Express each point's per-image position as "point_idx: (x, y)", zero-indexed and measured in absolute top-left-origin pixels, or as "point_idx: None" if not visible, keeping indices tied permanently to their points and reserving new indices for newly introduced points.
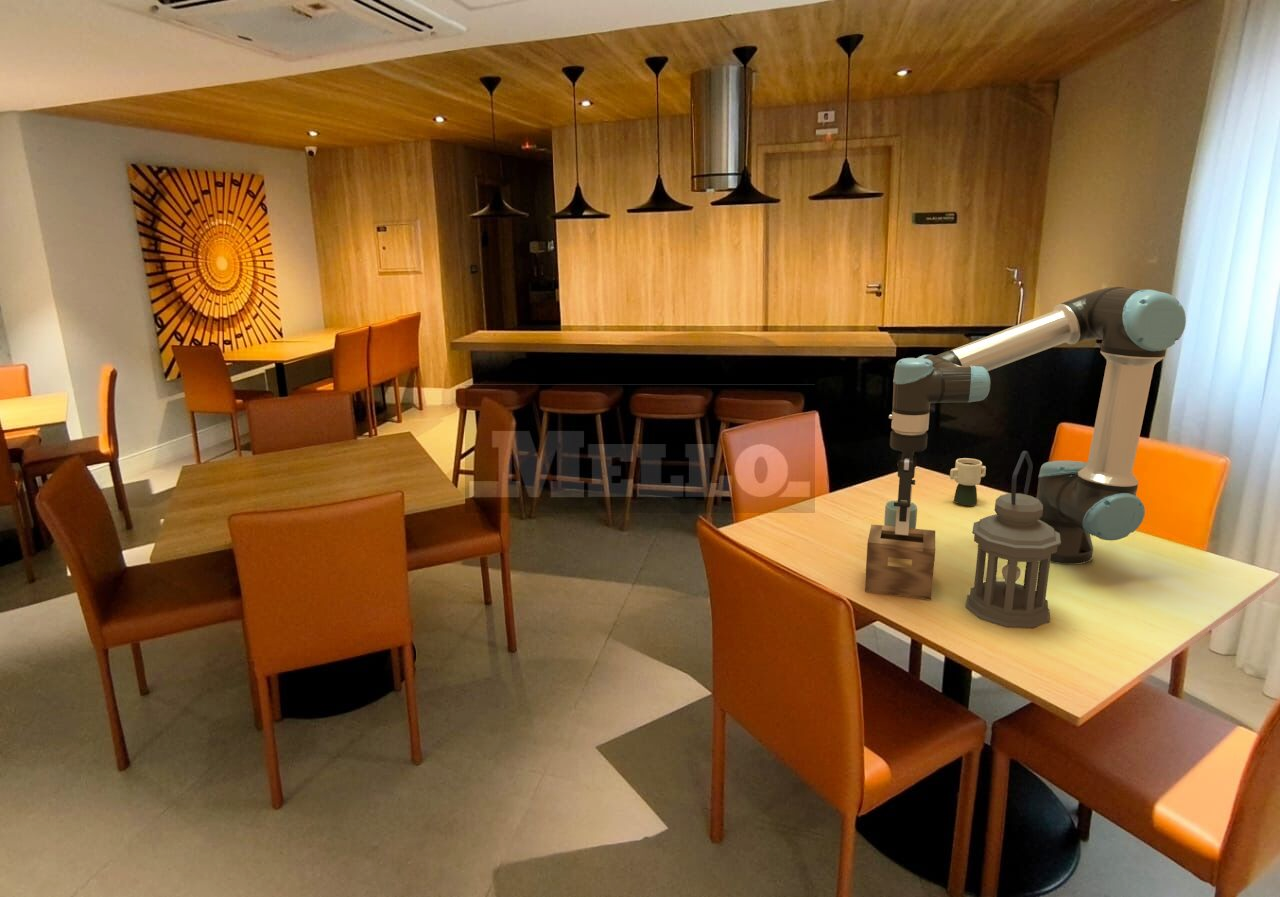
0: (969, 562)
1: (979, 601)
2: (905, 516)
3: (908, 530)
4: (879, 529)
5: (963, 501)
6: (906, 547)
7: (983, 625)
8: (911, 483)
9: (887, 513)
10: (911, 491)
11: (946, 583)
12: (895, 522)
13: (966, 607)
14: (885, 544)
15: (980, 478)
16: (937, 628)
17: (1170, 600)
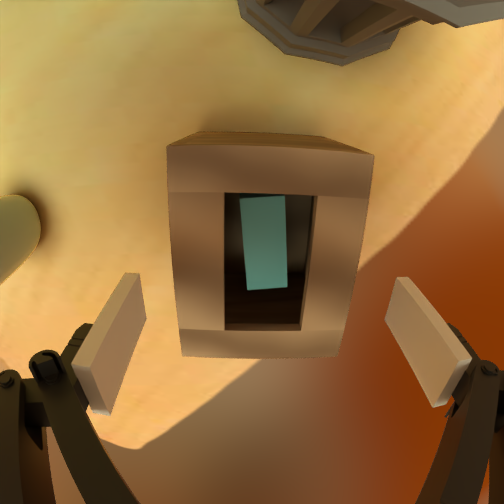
0: (78, 55)
1: (370, 39)
2: (464, 342)
3: (417, 288)
4: (220, 336)
5: None
6: (359, 251)
7: (410, 50)
8: (69, 378)
9: (3, 281)
10: (101, 346)
11: (215, 96)
12: (17, 254)
13: (345, 64)
14: (347, 313)
15: None
16: (438, 141)
17: None
